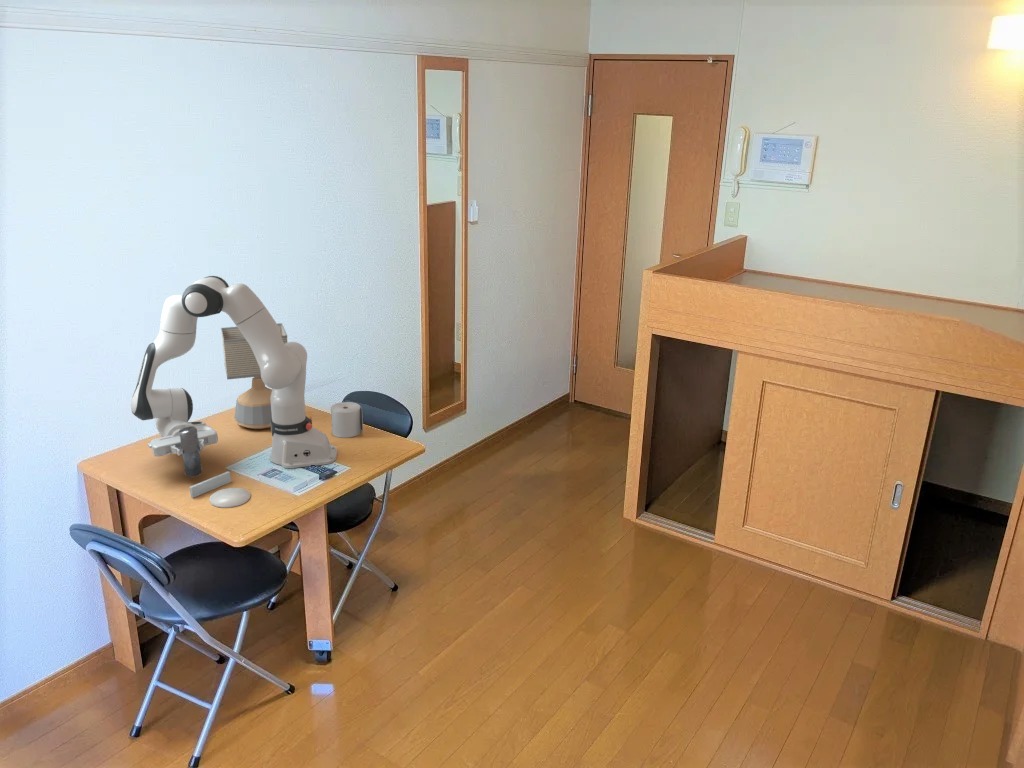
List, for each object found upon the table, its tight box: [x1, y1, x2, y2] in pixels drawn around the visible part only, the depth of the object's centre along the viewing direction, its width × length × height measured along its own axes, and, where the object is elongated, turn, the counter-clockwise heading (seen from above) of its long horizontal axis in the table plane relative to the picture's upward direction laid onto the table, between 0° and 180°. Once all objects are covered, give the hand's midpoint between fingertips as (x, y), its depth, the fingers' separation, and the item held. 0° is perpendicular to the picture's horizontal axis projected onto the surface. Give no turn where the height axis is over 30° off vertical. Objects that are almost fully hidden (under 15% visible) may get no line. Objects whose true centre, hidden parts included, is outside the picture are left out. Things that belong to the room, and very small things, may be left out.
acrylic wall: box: [189, 471, 232, 499], centre depth 263 cm, size 14×1×4 cm, turn 144°
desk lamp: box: [220, 323, 289, 430], centre depth 308 cm, size 22×19×37 cm
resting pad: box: [208, 487, 251, 509], centre depth 258 cm, size 12×12×1 cm
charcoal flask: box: [179, 427, 203, 478], centre depth 265 cm, size 5×5×15 cm
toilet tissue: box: [330, 401, 364, 439], centre depth 306 cm, size 11×12×10 cm
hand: (191, 450), depth 264 cm, fingers closed on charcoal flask, 5 cm apart
